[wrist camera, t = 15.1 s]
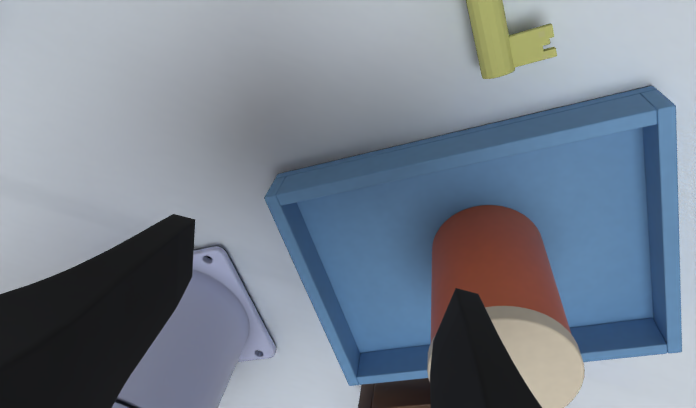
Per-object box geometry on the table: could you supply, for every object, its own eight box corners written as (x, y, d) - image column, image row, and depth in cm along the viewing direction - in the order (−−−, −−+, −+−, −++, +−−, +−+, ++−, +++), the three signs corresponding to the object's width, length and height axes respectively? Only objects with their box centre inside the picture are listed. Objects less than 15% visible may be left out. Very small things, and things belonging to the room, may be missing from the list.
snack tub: (447, 302, 26) (450, 432, 20) (415, 218, 24) (407, 334, 18) (555, 282, 25) (596, 416, 18) (532, 189, 22) (569, 306, 16)
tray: (354, 354, 30) (348, 386, 28) (277, 173, 24) (263, 197, 22) (663, 317, 25) (682, 352, 23) (653, 84, 20) (676, 105, 18)
